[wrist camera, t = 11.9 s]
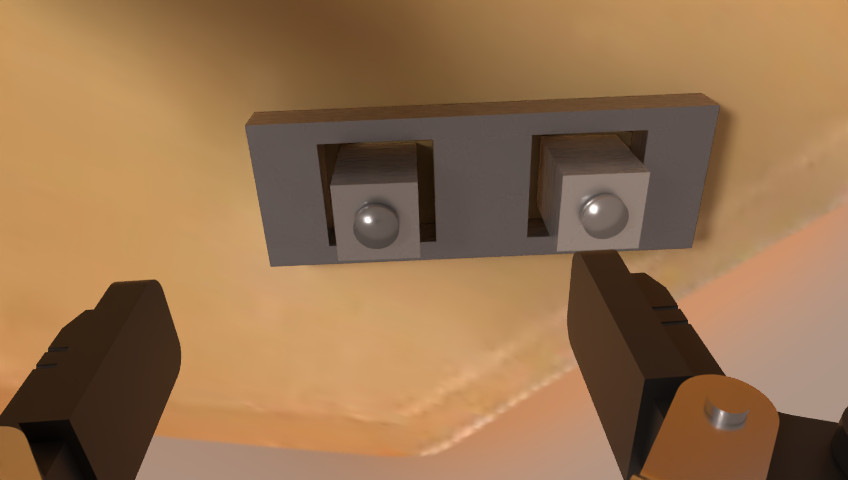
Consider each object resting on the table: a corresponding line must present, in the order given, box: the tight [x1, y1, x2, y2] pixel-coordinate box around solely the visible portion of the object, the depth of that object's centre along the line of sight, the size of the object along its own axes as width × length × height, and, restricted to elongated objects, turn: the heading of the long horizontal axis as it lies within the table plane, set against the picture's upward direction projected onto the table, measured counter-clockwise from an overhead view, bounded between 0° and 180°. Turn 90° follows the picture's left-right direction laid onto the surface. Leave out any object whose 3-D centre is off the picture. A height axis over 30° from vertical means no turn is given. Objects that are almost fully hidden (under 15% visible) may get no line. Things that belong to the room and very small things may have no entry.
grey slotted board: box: [245, 93, 720, 267], centre depth 37 cm, size 9×26×2 cm, turn 92°
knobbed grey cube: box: [330, 142, 420, 261], centre depth 35 cm, size 4×4×7 cm
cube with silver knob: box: [537, 134, 650, 252], centre depth 35 cm, size 4×4×7 cm
